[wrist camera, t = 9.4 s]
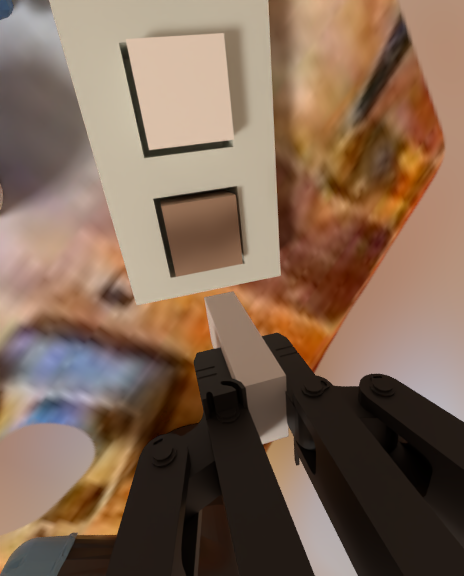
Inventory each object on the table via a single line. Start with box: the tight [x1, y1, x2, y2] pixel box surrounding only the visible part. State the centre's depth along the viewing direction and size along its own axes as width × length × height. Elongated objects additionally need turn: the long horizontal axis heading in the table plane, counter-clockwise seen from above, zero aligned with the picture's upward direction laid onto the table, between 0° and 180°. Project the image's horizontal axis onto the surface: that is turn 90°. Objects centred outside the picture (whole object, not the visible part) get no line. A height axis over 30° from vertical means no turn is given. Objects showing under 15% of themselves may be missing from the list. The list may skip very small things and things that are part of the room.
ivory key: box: [126, 33, 234, 150], centre depth 21 cm, size 6×6×4 cm
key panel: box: [49, 0, 281, 305], centre depth 24 cm, size 31×14×5 cm, turn 7°
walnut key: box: [160, 190, 243, 277], centre depth 27 cm, size 6×6×4 cm
